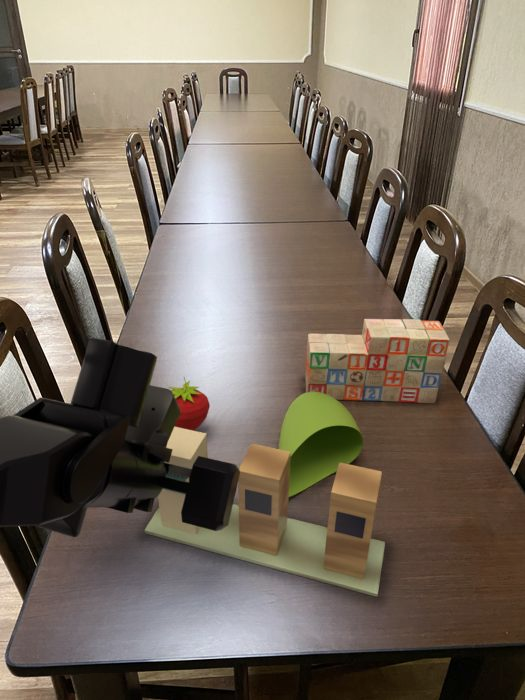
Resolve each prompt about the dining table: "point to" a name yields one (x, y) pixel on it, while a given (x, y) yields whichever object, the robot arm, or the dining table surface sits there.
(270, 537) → the block line
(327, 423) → the green curved shell
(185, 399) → the strawberry
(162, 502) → the tall cream block
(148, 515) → the dining table surface
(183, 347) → the dining table surface
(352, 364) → the stack of blocks
